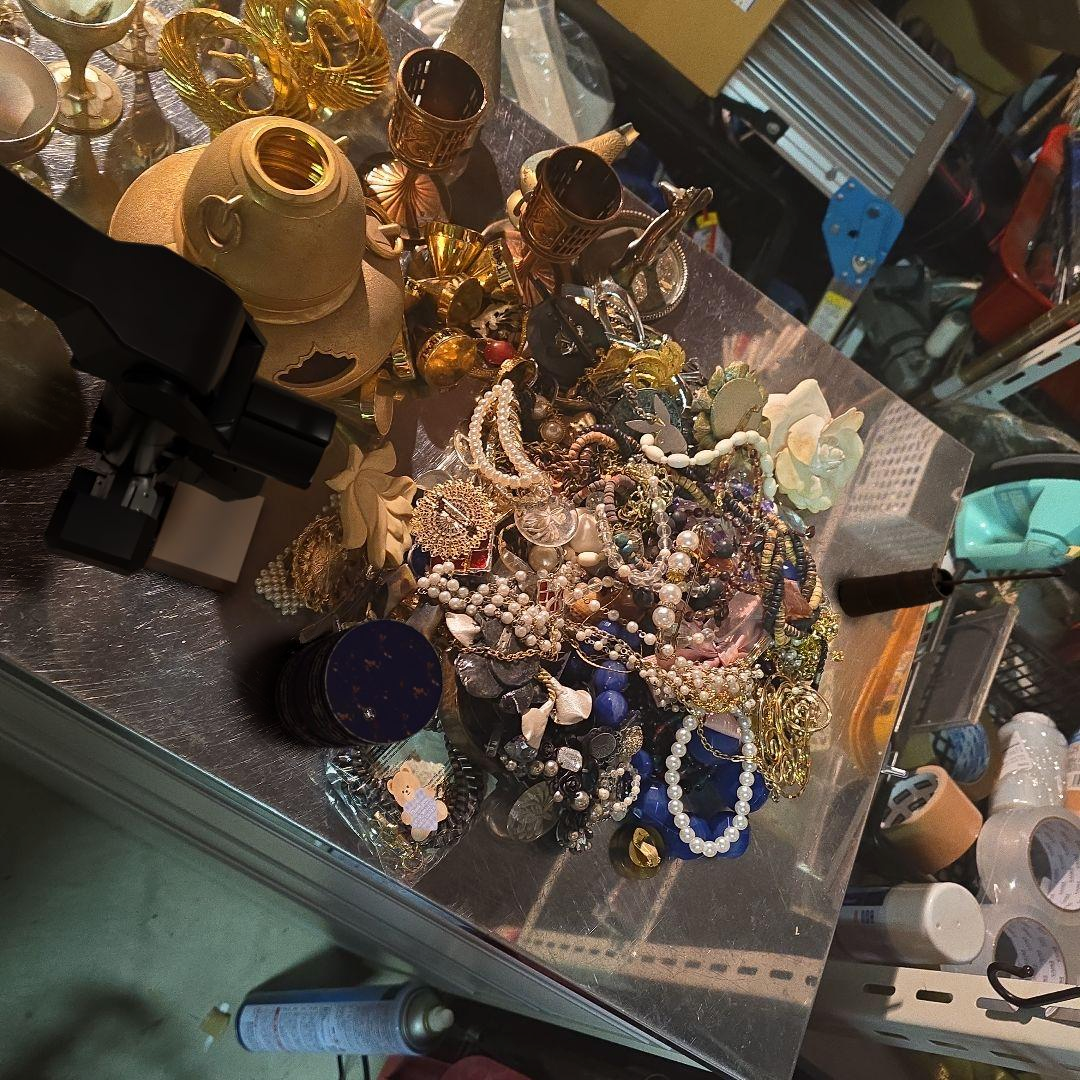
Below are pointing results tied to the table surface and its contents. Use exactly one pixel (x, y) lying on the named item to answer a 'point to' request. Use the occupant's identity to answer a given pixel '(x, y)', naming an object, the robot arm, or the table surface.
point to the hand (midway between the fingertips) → (125, 471)
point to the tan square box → (204, 537)
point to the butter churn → (908, 589)
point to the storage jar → (361, 686)
